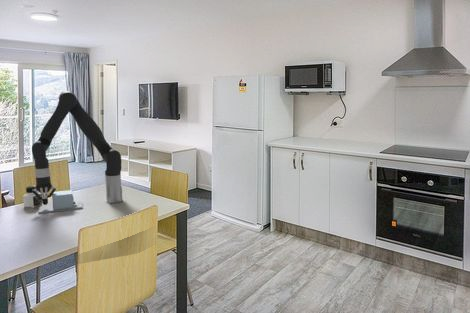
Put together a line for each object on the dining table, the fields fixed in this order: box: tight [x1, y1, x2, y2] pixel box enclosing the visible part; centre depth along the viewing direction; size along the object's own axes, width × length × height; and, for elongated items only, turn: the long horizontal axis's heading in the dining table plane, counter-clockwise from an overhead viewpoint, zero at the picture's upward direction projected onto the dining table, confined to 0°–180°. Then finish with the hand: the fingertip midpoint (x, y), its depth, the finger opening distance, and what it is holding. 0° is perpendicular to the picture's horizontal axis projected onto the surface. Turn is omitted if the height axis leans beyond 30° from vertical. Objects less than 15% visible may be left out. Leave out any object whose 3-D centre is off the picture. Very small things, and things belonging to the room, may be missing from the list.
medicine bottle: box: [22, 185, 43, 208], centre depth 216 cm, size 7×7×12 cm
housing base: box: [37, 201, 83, 215], centre depth 211 cm, size 23×12×2 cm, turn 115°
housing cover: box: [51, 189, 74, 210], centre depth 211 cm, size 10×10×8 cm
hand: (45, 204), depth 208 cm, fingers closed
